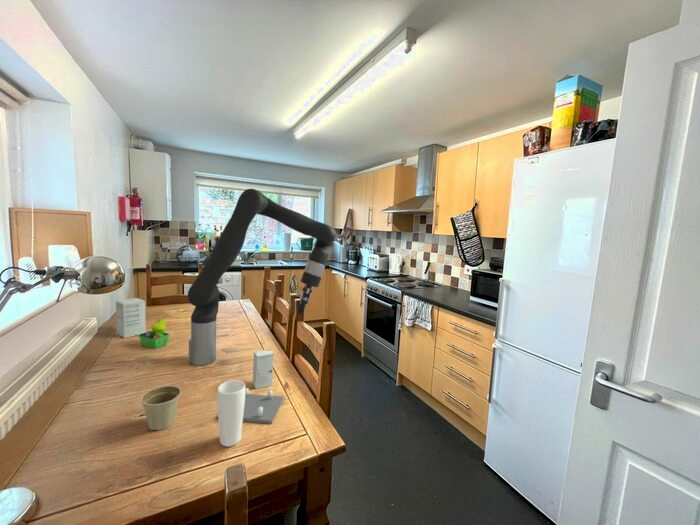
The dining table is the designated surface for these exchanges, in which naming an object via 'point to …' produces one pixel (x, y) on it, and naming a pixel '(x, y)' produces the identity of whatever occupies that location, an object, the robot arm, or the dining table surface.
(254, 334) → the dining table surface
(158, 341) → the fruit basket
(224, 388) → the drinking glass
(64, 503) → the dining table surface
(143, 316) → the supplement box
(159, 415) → the flower pot
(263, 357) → the skincare box
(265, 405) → the pin tray
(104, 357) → the dining table surface
